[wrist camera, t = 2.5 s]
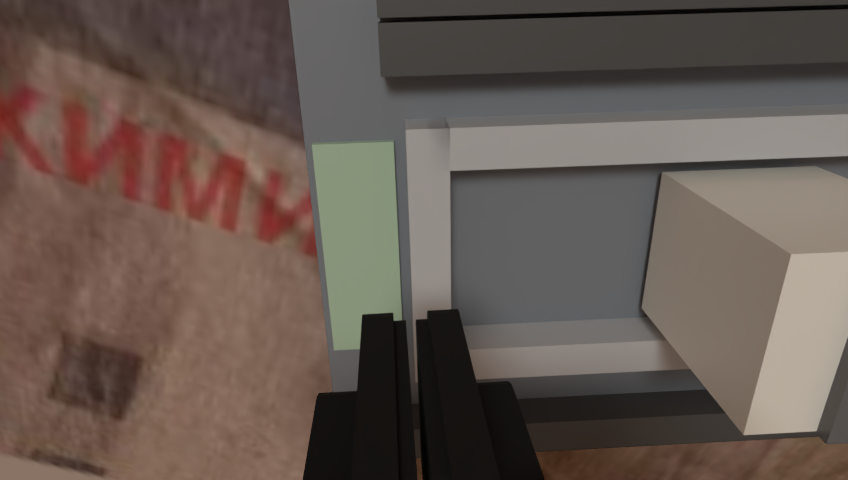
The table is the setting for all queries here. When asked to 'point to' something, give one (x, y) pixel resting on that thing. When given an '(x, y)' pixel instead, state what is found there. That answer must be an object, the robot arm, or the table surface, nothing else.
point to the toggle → (757, 292)
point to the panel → (547, 180)
